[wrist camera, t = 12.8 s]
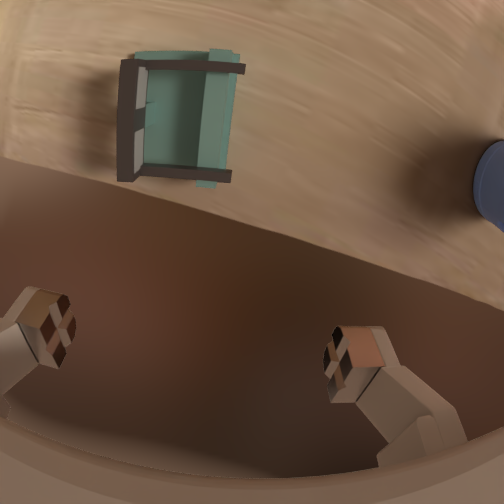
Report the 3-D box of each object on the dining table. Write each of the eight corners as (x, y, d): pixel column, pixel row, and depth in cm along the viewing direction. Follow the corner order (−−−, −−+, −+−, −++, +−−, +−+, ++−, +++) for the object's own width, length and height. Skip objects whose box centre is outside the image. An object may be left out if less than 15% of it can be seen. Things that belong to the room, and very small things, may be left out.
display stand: (138, 52, 31) (124, 49, 27) (240, 55, 32) (238, 50, 28) (131, 169, 40) (118, 180, 35) (224, 176, 41) (221, 189, 36)
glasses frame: (133, 61, 28) (120, 59, 24) (245, 64, 29) (245, 62, 25) (128, 171, 35) (116, 181, 31) (230, 179, 36) (228, 190, 32)
